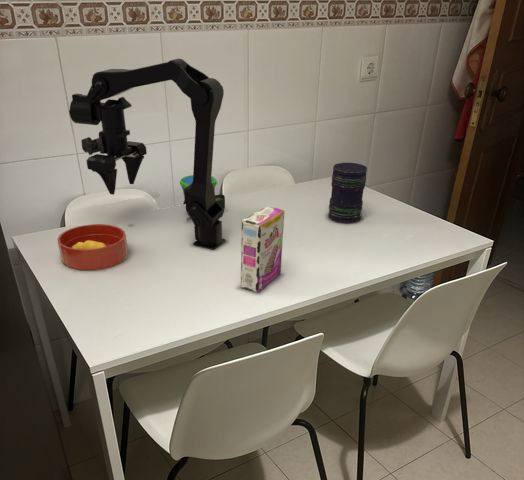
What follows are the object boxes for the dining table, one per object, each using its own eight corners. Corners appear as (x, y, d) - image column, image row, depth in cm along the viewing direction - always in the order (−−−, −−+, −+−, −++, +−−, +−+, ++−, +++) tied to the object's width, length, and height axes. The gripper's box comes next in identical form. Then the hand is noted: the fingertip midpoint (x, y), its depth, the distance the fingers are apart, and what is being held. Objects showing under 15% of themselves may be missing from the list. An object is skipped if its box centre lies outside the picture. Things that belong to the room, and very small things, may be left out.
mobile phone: (220, 192, 161) (181, 202, 151) (227, 194, 159) (188, 204, 150) (220, 208, 163) (182, 218, 154) (227, 210, 162) (189, 221, 153)
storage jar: (366, 216, 160) (373, 166, 152) (352, 226, 153) (359, 174, 145) (336, 209, 164) (341, 160, 156) (322, 218, 158) (326, 168, 149)
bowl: (141, 251, 136) (138, 231, 133) (99, 276, 124) (95, 255, 121) (92, 239, 142) (88, 219, 139) (47, 262, 130) (42, 241, 127)
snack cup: (175, 207, 163) (172, 174, 157) (206, 202, 167) (205, 170, 161) (192, 224, 152) (190, 189, 146) (225, 219, 156) (225, 185, 150)
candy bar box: (258, 293, 119) (260, 224, 110) (240, 288, 121) (239, 220, 112) (282, 274, 127) (285, 209, 117) (264, 269, 129) (266, 204, 119)
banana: (120, 251, 132) (115, 242, 129) (112, 265, 130) (107, 256, 127) (81, 244, 136) (75, 234, 133) (72, 256, 134) (66, 247, 131)
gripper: (108, 116, 140) (116, 175, 149) (62, 131, 126) (74, 195, 135) (144, 120, 137) (150, 180, 146) (102, 136, 123) (111, 201, 132)
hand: (122, 189), depth 140 cm, fingers open, 9 cm apart
